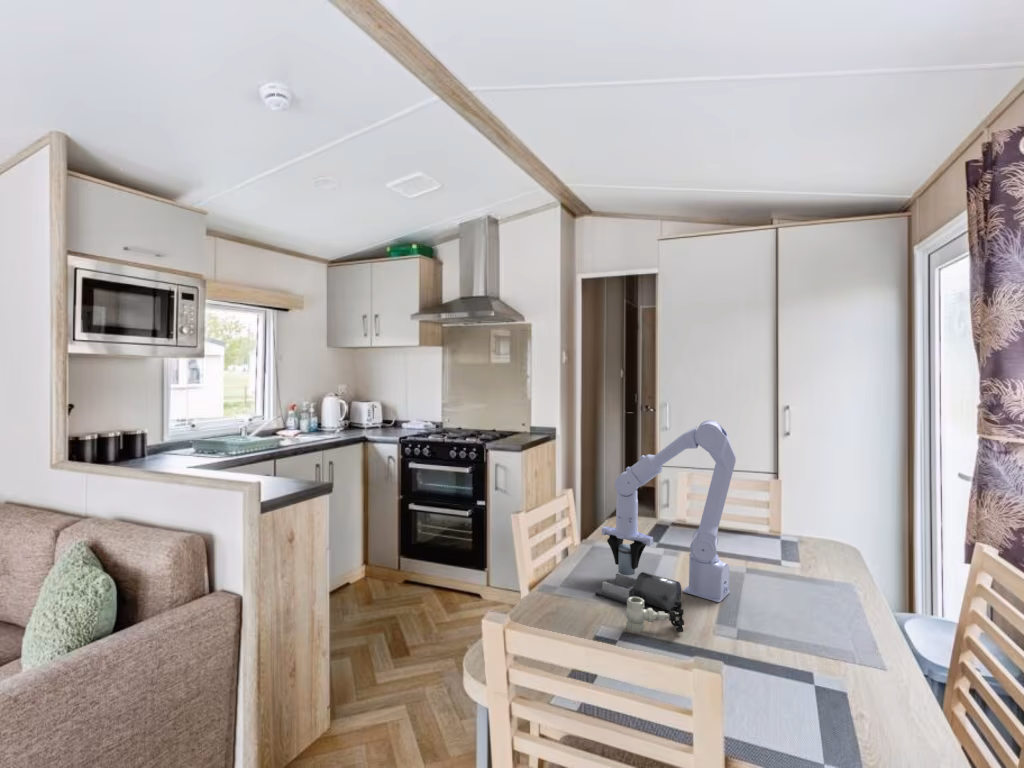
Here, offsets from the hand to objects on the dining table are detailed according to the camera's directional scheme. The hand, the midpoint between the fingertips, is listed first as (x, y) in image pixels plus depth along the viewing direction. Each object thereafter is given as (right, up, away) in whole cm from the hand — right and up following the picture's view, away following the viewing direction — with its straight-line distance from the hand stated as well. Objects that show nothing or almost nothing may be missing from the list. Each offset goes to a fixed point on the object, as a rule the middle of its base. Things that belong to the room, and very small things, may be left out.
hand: (626, 565), depth 149 cm
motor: (+1, -4, -12) cm, 13 cm away
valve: (0, -6, -27) cm, 28 cm away
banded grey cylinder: (0, -2, 0) cm, 2 cm away
